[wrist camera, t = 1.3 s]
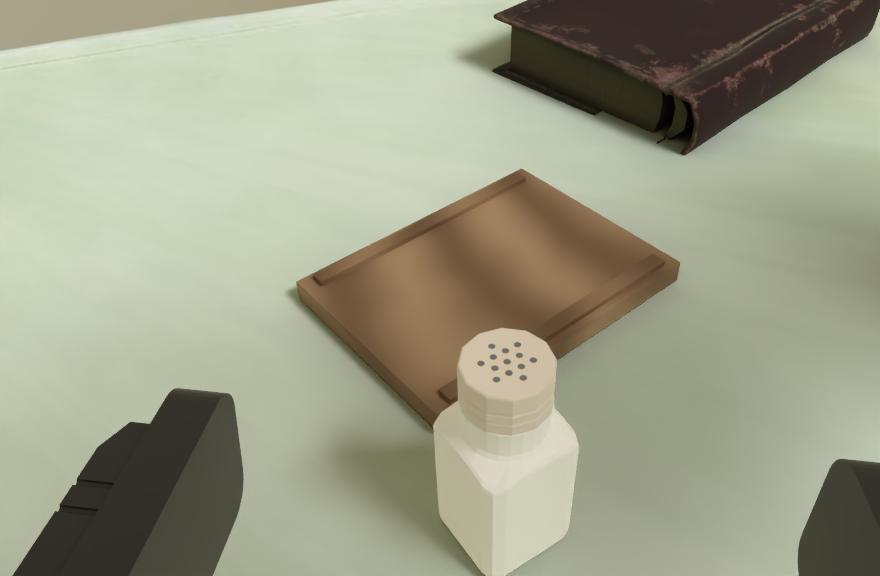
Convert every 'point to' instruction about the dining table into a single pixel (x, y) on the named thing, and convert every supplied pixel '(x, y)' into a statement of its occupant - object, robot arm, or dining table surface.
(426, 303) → the walnut board
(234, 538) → the dining table surface
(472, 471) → the salt shaker
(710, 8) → the diary
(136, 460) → the robot arm
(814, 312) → the dining table surface
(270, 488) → the dining table surface
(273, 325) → the dining table surface
